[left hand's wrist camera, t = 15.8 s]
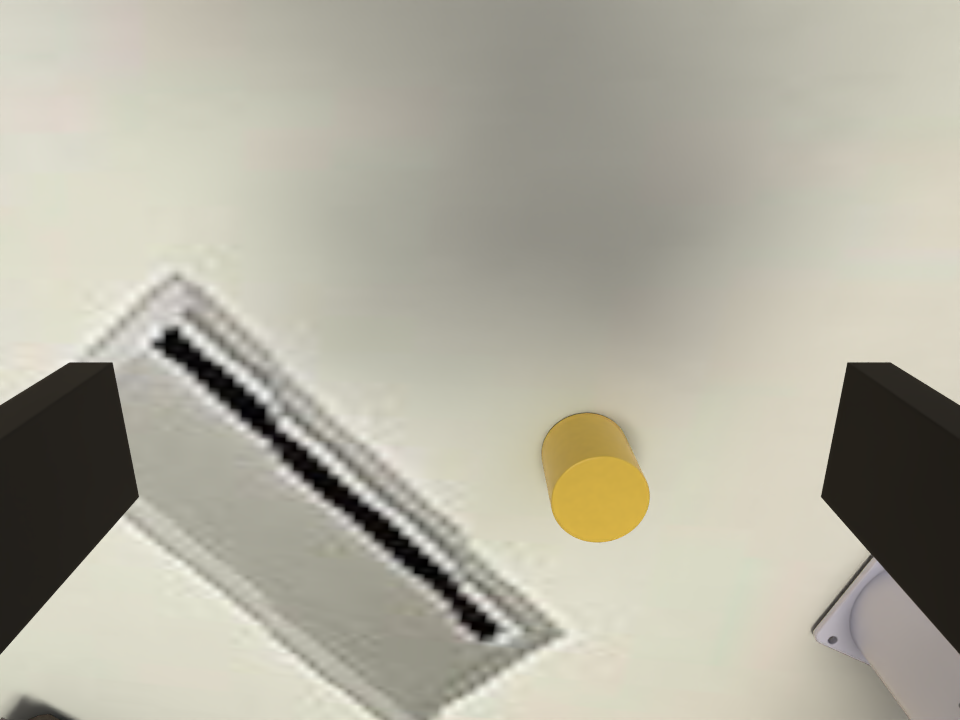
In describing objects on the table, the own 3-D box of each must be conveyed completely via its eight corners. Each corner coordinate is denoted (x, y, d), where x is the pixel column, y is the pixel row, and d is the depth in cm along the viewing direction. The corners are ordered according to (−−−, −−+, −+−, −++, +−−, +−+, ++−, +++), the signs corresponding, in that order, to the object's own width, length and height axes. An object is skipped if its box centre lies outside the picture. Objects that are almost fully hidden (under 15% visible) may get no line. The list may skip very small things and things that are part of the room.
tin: (532, 481, 35) (540, 533, 30) (553, 404, 33) (565, 447, 29) (614, 497, 35) (633, 550, 31) (638, 422, 34) (662, 466, 29)
